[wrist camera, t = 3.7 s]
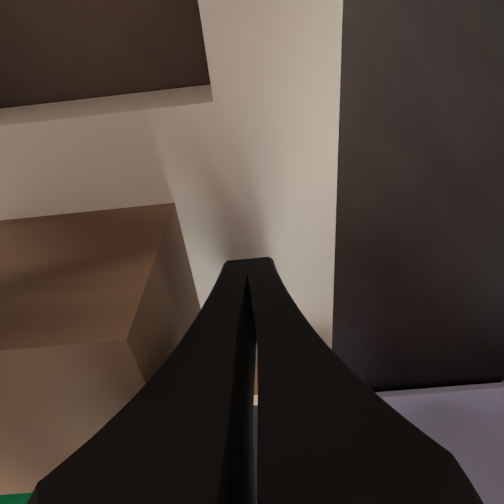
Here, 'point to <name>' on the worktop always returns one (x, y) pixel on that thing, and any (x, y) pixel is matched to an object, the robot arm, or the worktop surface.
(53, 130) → the trap deck
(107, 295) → the walnut block
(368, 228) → the worktop surface
